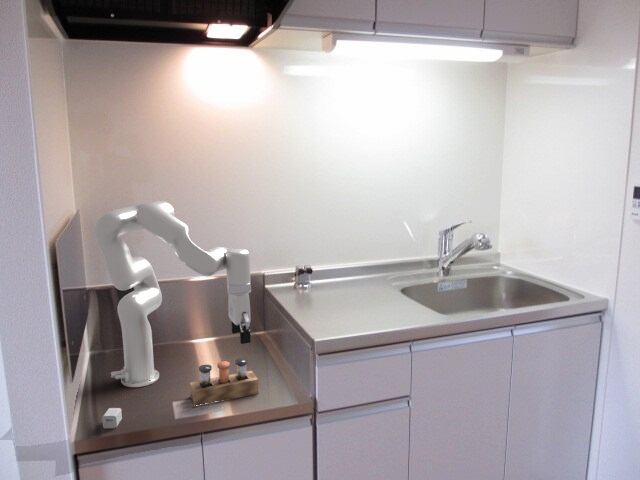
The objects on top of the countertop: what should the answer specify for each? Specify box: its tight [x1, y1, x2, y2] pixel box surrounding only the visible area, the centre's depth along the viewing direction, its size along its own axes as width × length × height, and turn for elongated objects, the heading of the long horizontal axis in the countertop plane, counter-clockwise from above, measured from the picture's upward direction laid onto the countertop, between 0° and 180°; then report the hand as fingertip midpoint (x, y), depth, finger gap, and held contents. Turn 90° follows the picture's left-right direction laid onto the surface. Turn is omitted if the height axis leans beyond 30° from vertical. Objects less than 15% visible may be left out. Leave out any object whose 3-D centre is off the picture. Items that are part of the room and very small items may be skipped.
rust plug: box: [217, 360, 231, 384], centre depth 167 cm, size 4×4×7 cm
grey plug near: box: [198, 364, 213, 388], centre depth 164 cm, size 4×4×7 cm
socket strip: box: [189, 370, 259, 407], centre depth 168 cm, size 21×7×5 cm, turn 115°
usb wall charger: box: [101, 407, 123, 429], centre depth 152 cm, size 4×7×4 cm, turn 2°
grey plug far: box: [234, 357, 249, 381], centre depth 169 cm, size 4×4×7 cm
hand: (241, 337), depth 167 cm, fingers open, 9 cm apart
